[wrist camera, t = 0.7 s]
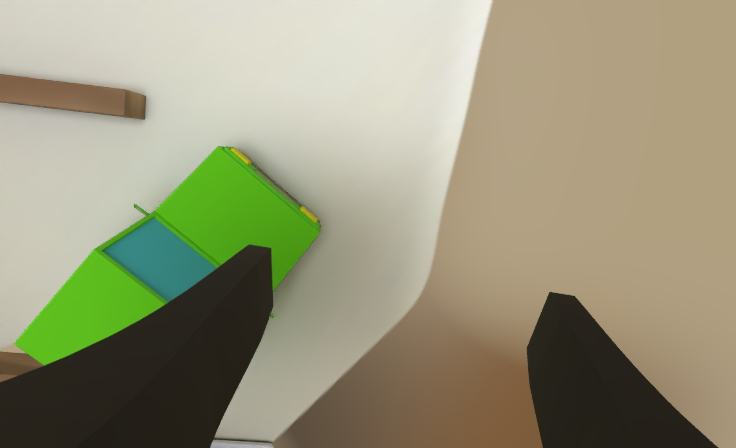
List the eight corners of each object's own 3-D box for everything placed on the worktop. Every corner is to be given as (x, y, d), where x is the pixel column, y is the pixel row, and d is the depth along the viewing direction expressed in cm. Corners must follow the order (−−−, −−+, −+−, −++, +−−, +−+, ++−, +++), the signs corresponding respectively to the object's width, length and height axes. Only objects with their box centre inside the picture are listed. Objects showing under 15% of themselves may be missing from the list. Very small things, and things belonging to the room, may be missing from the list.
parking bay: (132, 381, 33) (112, 403, 30) (-94, 365, 31) (-138, 387, 28) (145, 96, 30) (125, 89, 27) (-102, 65, 29) (-152, 55, 26)
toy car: (338, 229, 32) (340, 261, 22) (217, 365, 33) (168, 453, 23) (224, 131, 31) (173, 119, 21) (100, 275, 32) (-6, 330, 22)
